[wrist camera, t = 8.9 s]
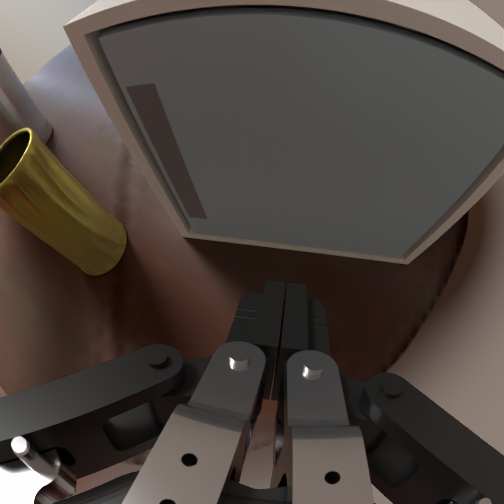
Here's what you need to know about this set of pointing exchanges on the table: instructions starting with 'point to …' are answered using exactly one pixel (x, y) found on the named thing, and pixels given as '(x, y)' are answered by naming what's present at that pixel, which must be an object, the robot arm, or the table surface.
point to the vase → (57, 205)
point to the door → (308, 123)
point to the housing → (342, 3)
